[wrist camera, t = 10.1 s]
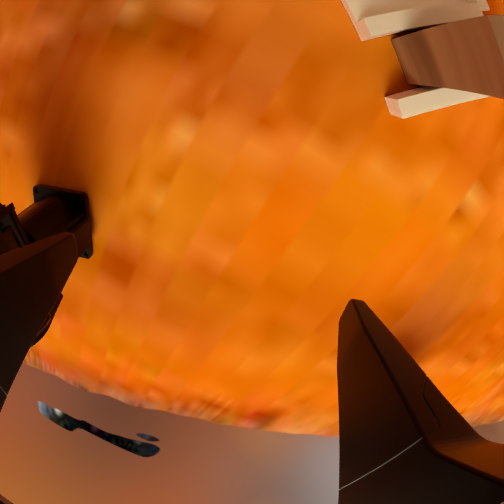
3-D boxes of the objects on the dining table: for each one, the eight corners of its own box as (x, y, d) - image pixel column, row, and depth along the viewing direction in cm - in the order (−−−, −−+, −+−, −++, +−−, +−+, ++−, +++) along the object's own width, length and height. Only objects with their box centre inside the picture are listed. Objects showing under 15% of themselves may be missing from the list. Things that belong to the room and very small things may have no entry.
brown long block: (407, 83, 16) (512, 101, 6) (390, 39, 14) (487, 15, 5) (465, 71, 14) (578, 90, 5) (450, 29, 13) (560, 19, 3)
